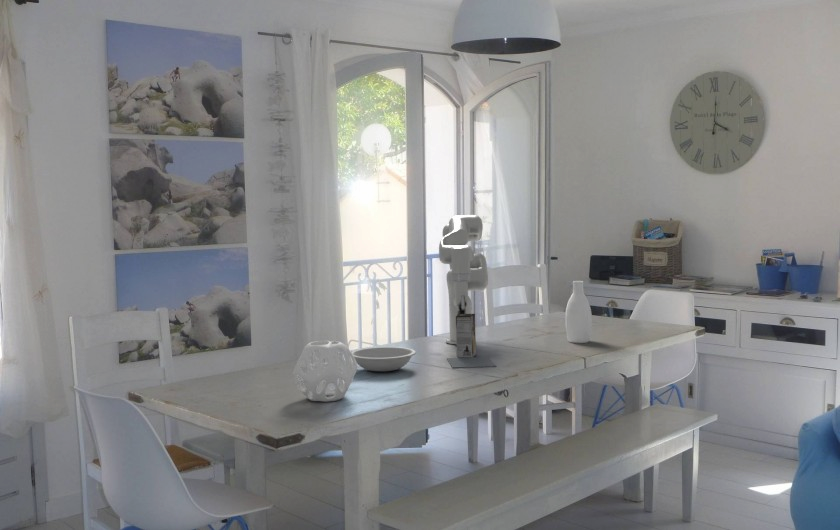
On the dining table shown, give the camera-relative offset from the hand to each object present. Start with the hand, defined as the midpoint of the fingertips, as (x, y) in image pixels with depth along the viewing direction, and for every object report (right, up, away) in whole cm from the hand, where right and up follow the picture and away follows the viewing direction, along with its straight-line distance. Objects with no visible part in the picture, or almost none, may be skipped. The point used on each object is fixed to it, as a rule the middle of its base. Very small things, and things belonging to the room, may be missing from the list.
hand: (461, 323), depth 342 cm
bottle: (+50, -9, +18) cm, 54 cm away
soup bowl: (-30, -15, -35) cm, 49 cm away
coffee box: (+1, -12, -12) cm, 17 cm away
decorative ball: (-46, -18, -78) cm, 92 cm away
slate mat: (+2, -13, -25) cm, 28 cm away
